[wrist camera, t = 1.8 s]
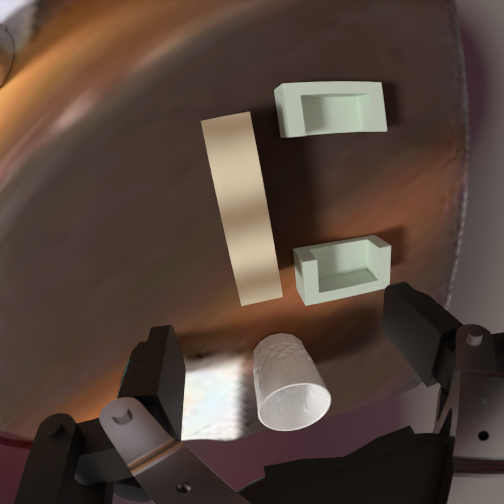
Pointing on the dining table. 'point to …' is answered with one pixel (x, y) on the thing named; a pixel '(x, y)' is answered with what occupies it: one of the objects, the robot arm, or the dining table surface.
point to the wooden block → (243, 206)
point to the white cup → (287, 384)
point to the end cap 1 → (329, 108)
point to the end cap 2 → (342, 268)
